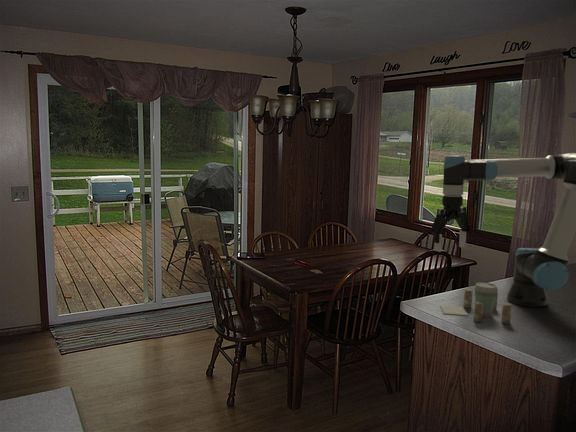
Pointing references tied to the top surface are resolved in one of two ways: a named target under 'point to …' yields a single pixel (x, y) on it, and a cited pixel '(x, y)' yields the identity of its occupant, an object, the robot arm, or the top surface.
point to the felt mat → (453, 310)
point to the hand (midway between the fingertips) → (450, 249)
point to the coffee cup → (486, 297)
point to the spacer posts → (479, 308)
